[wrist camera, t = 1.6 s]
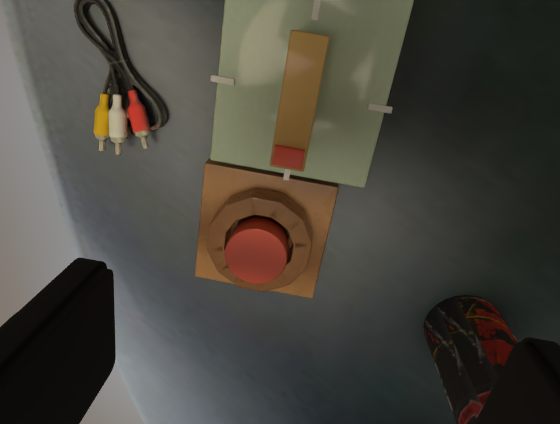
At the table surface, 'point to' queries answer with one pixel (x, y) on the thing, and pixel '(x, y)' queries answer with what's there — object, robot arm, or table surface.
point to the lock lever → (298, 99)
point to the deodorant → (468, 351)
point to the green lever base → (333, 91)
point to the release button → (257, 250)
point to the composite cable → (118, 85)
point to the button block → (270, 205)
